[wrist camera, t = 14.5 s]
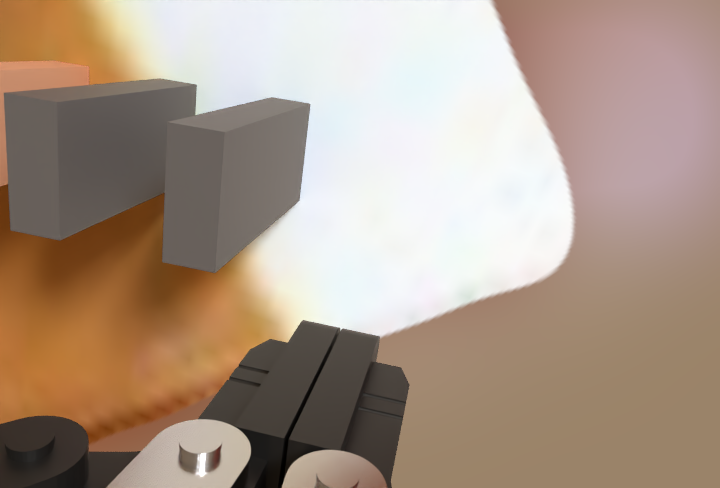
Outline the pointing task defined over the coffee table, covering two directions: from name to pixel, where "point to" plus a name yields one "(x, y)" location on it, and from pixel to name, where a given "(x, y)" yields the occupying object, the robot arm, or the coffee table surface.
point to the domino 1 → (34, 88)
